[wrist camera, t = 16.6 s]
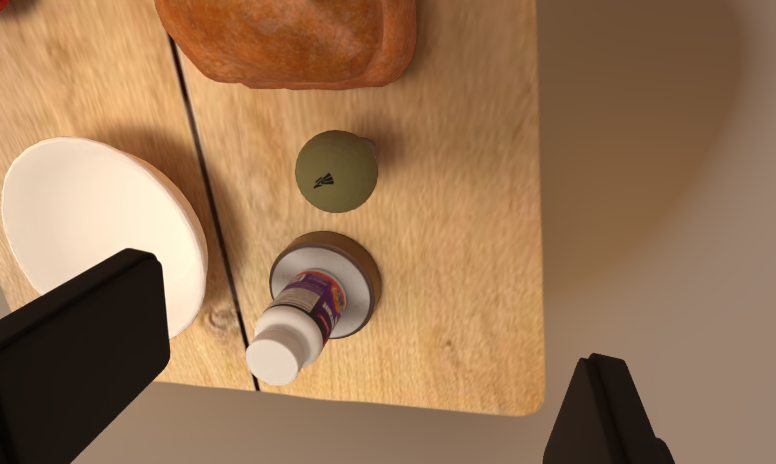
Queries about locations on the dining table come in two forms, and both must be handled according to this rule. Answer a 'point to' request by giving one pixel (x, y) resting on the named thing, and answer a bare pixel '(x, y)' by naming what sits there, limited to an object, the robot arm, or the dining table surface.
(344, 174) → the light bulb
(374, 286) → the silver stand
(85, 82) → the dining table surface
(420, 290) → the dining table surface
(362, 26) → the bread
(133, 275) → the robot arm
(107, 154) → the bowl
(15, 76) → the dining table surface
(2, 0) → the apple
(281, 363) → the pill bottle
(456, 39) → the dining table surface
